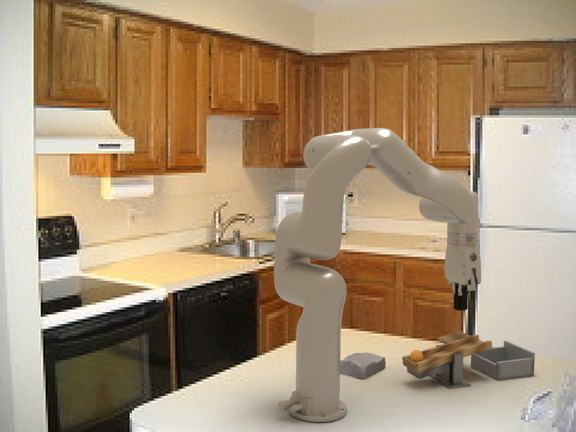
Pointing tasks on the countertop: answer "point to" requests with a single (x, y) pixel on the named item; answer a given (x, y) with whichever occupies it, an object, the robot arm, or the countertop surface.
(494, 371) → the tray
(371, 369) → the stone block
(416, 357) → the ball
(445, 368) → the fulcrum
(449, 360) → the seesaw
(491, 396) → the countertop surface
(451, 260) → the robot arm
